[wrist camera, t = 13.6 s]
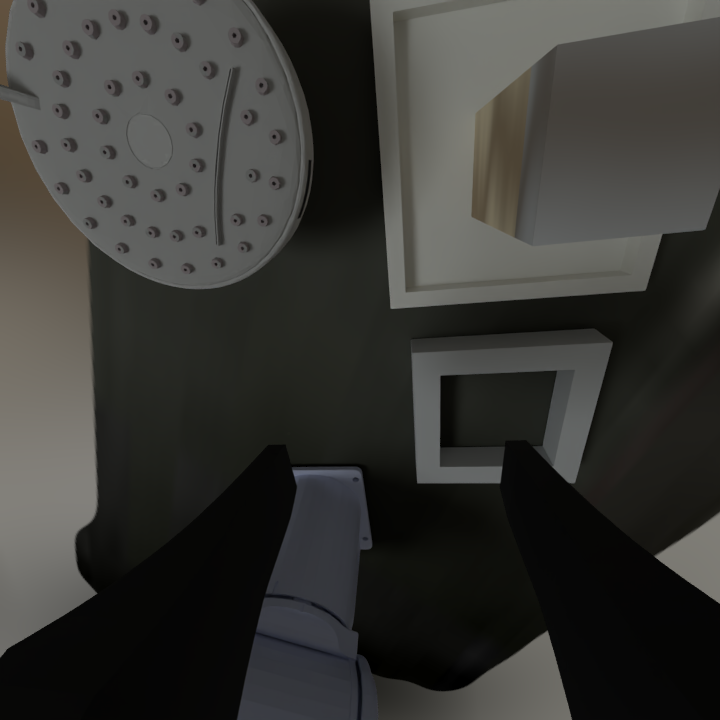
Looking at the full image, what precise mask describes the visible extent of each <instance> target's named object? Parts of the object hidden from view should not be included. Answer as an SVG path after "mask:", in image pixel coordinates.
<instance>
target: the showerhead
mask: <svg viewBox="0 0 720 720" xmlns="http://www.w3.org/2000/svg"><path fill="white" fill-rule="evenodd" d="M5 48H6V69H7V78H8V85H9V87H7V86H4V85H0V99H2V100H6V101H10V102H11V103H12V107H13V110H14V114H15V117H16V121H17V124H18V127H19V131H20V134H21V137H22V139H23V142H24V144H25V146H26V148H27V151H28V153H29V155H30V158H31V160H32V162H33V164H34V167H35V169H36V171H37V172H38V174H39V176H40V177H41V179H42V180H43V182H44V184H45V185H46V187H47V189H48V190H49V192H50V194H51V195H52V197H53V199H54V200H55V201H56V202H57V204H58V205H59V206H60V207H61V209H62V210H63V211H64V213H65V214H66V215H67V216H68V217H69V219H70V220H71V222H72V223H73V224H74V225H75V226H76V227H77V228H78V229H79V230H80V231H81V232H82V233H83V234H84V235H85V236H86V237H87V238H88V239H89V240H90V241H91V242H92V243H93V244H94V245H95V246H97V247H98V248H99V249H100V250H102V251H103V252H104V253H106V254H107V255H108V256H110V257H111V258H112V259H114V260H115V261H117V262H118V263H120V264H121V265H123V266H124V267H126V268H128V269H129V270H131V271H133V272H135V273H137V274H139V275H142V276H144V277H146V278H148V279H151V280H153V281H156V282H159V283H162V284H166V285H170V286H174V287H180V288H187V289H210V288H218V287H222V286H226V285H230V284H233V283H235V282H238V281H240V280H242V279H244V278H246V277H248V276H250V275H252V274H253V273H255V272H256V271H258V270H259V269H260V268H262V267H263V266H264V265H265V264H267V263H268V262H269V261H270V260H272V259H273V258H274V257H275V256H276V255H277V254H278V253H279V252H280V251H281V250H282V249H283V248H284V246H285V245H286V244H287V243H288V241H289V240H290V239H291V238H292V236H293V234H294V233H295V231H296V229H297V228H298V225H299V223H300V221H301V218H302V216H303V214H304V211H305V208H306V206H307V202H308V198H309V194H310V190H311V183H312V175H313V163H314V153H313V138H312V129H311V123H310V117H309V111H308V107H307V104H306V100H305V96H304V93H303V90H302V87H301V85H300V82H299V79H298V77H297V74H296V72H295V69H294V67H293V65H292V62H291V60H290V58H289V56H288V54H287V52H286V50H285V49H284V47H283V45H282V43H281V41H280V40H279V38H278V37H277V35H276V34H275V32H274V31H273V29H272V27H271V26H270V25H269V23H268V22H267V20H266V19H265V17H264V16H263V15H262V13H261V12H260V10H259V9H258V7H257V6H256V5H255V4H254V2H253V1H252V0H13V3H12V6H11V9H10V13H9V21H8V29H7V38H6V47H5Z"/></svg>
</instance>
